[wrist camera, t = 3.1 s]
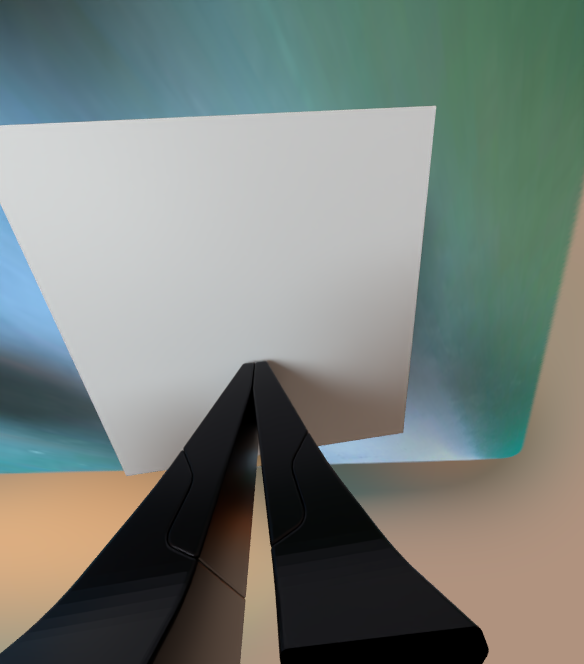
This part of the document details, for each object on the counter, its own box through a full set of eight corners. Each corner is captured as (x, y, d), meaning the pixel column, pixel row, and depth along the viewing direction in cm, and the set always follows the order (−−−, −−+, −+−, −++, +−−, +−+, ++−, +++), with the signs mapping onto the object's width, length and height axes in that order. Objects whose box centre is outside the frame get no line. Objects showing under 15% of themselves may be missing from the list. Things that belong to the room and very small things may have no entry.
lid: (140, 455, 10) (126, 476, 9) (12, 147, 6) (-36, 127, 5) (390, 417, 11) (403, 432, 10) (413, 126, 7) (436, 106, 6)
